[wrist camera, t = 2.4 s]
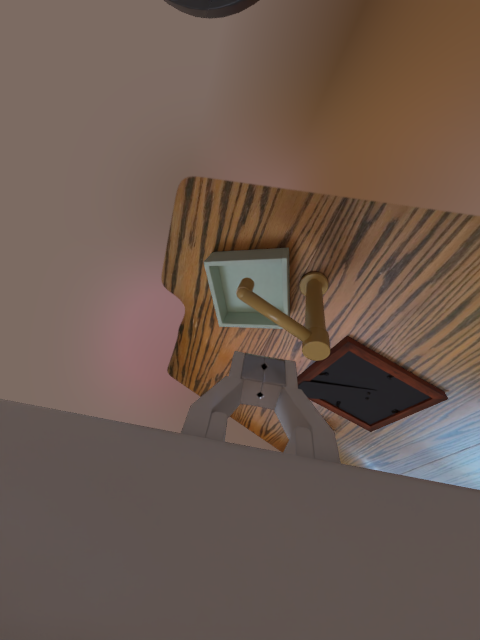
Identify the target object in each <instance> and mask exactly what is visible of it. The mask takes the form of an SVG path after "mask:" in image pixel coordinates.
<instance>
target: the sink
mask: <svg viewBox="0 0 480 640" xmlns="http://www.w3.org/2000/svg"><path fill="white" fill-rule="evenodd" d="M204 265H205V270H206V274H207V278H208V282H209V286H210V290H211V294H212V298H213V303H214V307H215V311H216V315H217V319H218V323H219V326H222V327H249V328H276V329H283V328H282V327H280V326H279V325H277V324H276V323H274V322H273V321H271V320H270V319H268V318H267V317H265V316H264V315H262V314H261V313H259V312H258V311H256V310H255V309H253V308H252V307H250V306H249V305H247V304H246V303H244V302H243V301H241V300H240V299H239V298H238V297H237V295H236V290H237V288H238V286H239V284H240V282H241V280H242V279H243V278H251V279H252V280H253V281H254V284H255V286H254V289H253V292H254V293H255V294H257V295H258V296H260V297H261V298H263V299H264V300H266V301H267V302H269V303H270V304H272V305H273V306H274V307H276V308H277V309H279V310H280V311H282V312H283V313H285V314H286V315H288V316H289V317H290V287H289V248H275V249H257V250H240V251H222V252H212V253H211V254H210V256H209V257H208V258H207V259H206V260H205V261H204Z"/></svg>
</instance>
